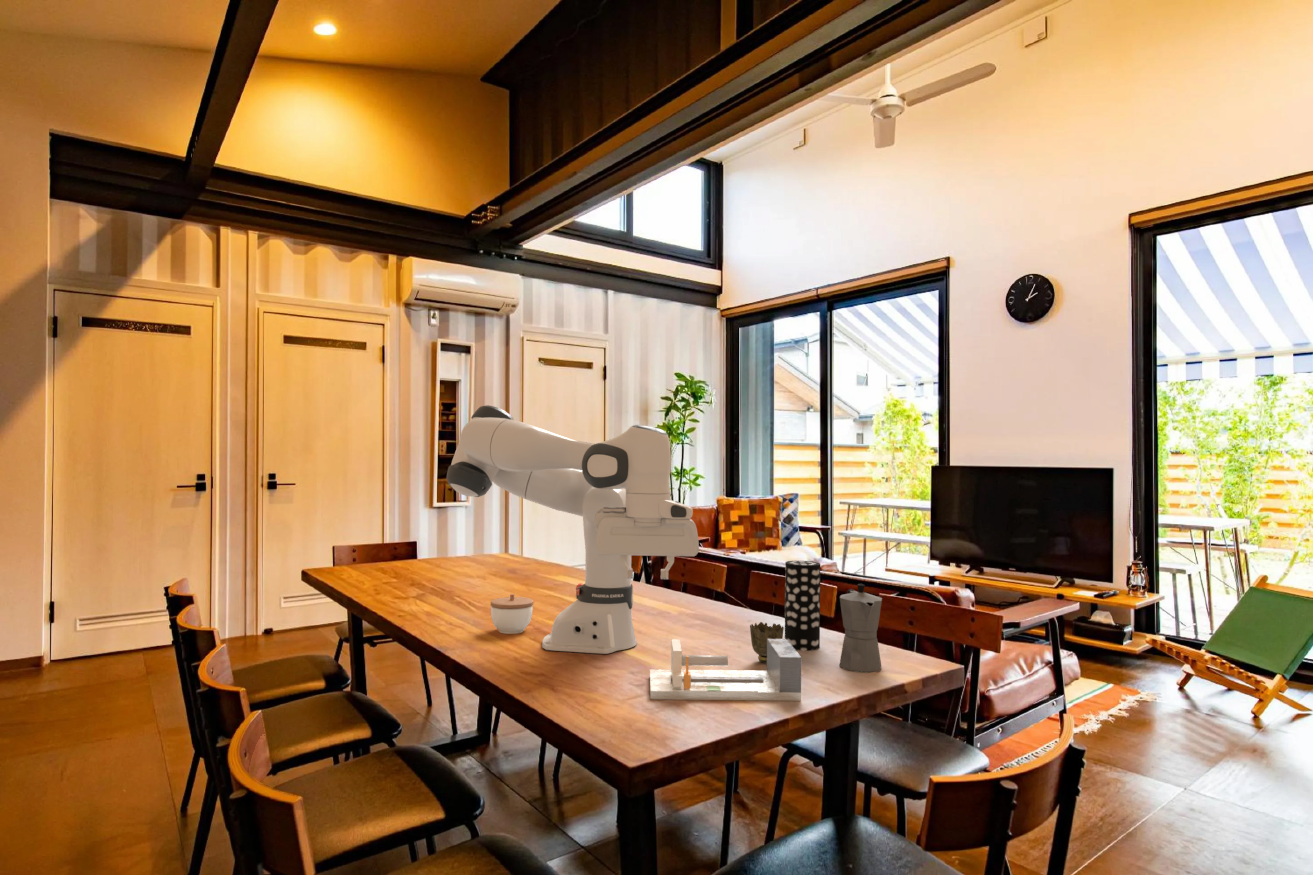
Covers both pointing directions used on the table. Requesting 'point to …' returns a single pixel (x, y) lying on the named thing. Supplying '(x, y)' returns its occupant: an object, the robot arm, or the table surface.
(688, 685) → the orange t-shaped block
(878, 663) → the coffeepot
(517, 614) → the lidded jar
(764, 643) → the cup
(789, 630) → the spotted tube
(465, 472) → the robot arm
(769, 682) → the gauge base
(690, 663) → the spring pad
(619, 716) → the table surface
